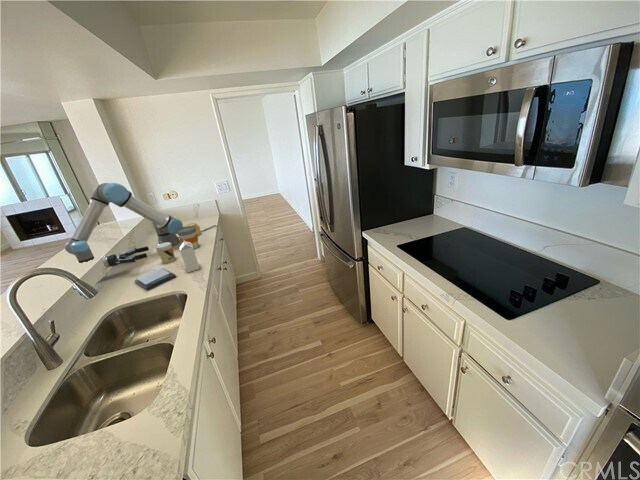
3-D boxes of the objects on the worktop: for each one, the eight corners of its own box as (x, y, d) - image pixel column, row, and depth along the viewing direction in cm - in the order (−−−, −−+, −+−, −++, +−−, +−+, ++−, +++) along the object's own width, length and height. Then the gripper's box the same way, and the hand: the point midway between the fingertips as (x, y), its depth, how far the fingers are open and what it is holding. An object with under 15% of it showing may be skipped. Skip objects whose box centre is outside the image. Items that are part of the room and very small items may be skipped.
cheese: (202, 233, 225) (198, 222, 221) (192, 238, 217) (188, 227, 213) (193, 233, 230) (190, 222, 226) (183, 237, 221) (179, 226, 217)
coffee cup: (170, 264, 176) (164, 247, 171) (158, 264, 178) (152, 248, 173) (179, 257, 184) (173, 241, 179) (168, 257, 186) (162, 242, 181)
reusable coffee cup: (184, 252, 191) (177, 233, 185) (182, 247, 201) (175, 229, 195) (202, 247, 196) (196, 228, 190) (199, 242, 206) (193, 224, 200)
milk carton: (187, 272, 161) (177, 244, 153) (187, 268, 167) (177, 240, 159) (199, 269, 164) (190, 241, 156) (199, 264, 170) (190, 237, 162)
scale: (162, 270, 168) (161, 266, 167) (176, 277, 157) (174, 273, 156) (135, 282, 157) (133, 278, 156) (147, 290, 146) (146, 286, 145)
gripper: (114, 259, 176) (150, 250, 185) (107, 274, 156) (148, 263, 164) (110, 249, 174) (147, 240, 182) (101, 263, 153) (143, 252, 161)
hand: (147, 251), depth 173 cm, fingers open, 13 cm apart
